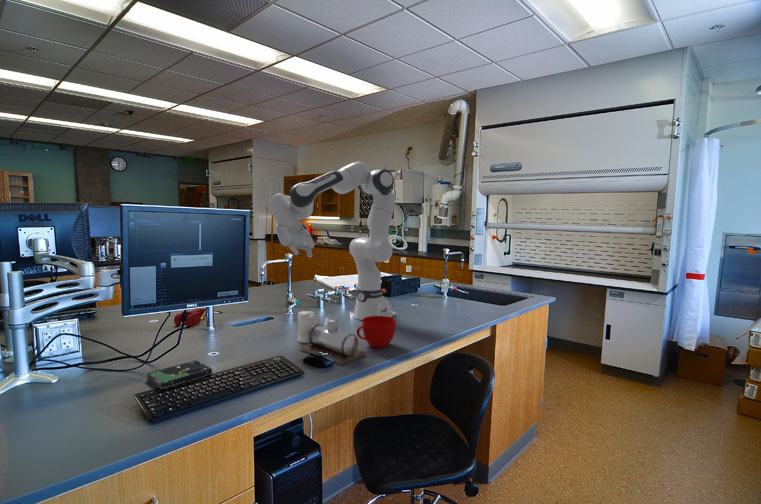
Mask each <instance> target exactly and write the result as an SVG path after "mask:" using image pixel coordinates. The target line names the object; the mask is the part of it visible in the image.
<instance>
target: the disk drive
mask: <svg viewBox="0 0 761 504" xmlns="http://www.w3.org/2000/svg"><path fill="white" fill-rule="evenodd" d="M209 374H213V368H211V367H210V366H208V365H206V364H204V363H201V362H200V361H198V360H197V359H196V360H192V361H188V362H184V363H180V364H177V365H173V366H169V367H166V368H162V369H158V370H154V371H150V372H148V373H147V376H146V377H147V378H146V379H147V381H148V382H149V383H150V384H152V385H153V386H155V388H157V389H158V388H160V387H164V386H169V385H172V384H176V383H179V382H183V381H188V380H192V379H195V378H198V377H202V376H205V375H209Z"/></svg>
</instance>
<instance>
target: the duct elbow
mask: <svg viewBox="0 0 761 504" xmlns="http://www.w3.org/2000/svg"><path fill="white" fill-rule="evenodd" d="M297 313H298V314H297V322H298V323H297V342H299V343H303V344H305V343H306V344H309V343H310V342H309V340H308V332H309V330H310V328H311V327H312V326H314V325H316V324H319V325H321V317H320V316H319V315H315V312H314V311H312V310H311V311H310V310H303V311H299V312H297Z"/></svg>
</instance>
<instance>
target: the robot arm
mask: <svg viewBox="0 0 761 504" xmlns="http://www.w3.org/2000/svg"><path fill="white" fill-rule="evenodd" d="M394 182H395V181H394V175H393V173H392V172H391V171H390V170H389V169H386V168H379V169H374V170H369V169H368V167H367V165H366V164H365V163H364V162H362V161H353V162H352V163H349V164H347V165H344V166H342V167H341V168H339V169H338V170H333V171H329V172H327V173H325V174H322V175H319V176H318V177H315V178H313V179H311V180H309V181H304V182H298V183H296V184H295V185H293V186H292V187H291V188H290V191H289V195H286V194H284V193H282V192H281V193H276V194H274V196H273V197H271V198H270V199H269V202H268V203H269V204H268V206H269V210H270V212H271V215H272V217H273V219H274V220H275V221H276V223H277V224H276V226H275V228H276V234H277V238H278V241H279V243H280V244H281V245H282V246H284V247H288V248H289V249H290V251H291V252H292V253H293V255H294V256H298V255H300V254H301V252H300V251H299V250H304V251H305V252H306V256H307V258H312V257H313V255H314V254H313V253H312V249H314V247H315V242H314V240H313V238H312V236H311V233H309V228H308V226H306V224H305V225H304V224H303V223H302V222H301V221H302V220H305V219H309V218H310V217H311V216H312V215H313V213H314V202H315V198H316V197H317V196H318V195H319V194H322V193H323V192H325V191H326V190H329V189H332V190H333V191H334V192H335V193H337V194H339V195H345V194H348V193H350V192H351V191H353V190H355V189H356V188H358V191H360V192H361V193H362V194H365V195H372V199H373V200H372V204H371V208H370V210H369V213H368V217H367V221H366V226H367V228H368V229H369V236H368V237H356V238H354V239H352V240H351V242H350V243H349V247H348V250H349V254H350V255H351V256H352V258H353V260H354V262H355V265H356V270H357V289H356V299H355V308H354V311H353V317H354V318H355V319H356V320H361V321H362V320H363V318H366V317H370V316H386V317H391V318H393V317H394V316H396V315H397V313H396V312H395V311H393V310H392V304H391V302H390V301H389V300H388V299H386V297H385V296H383V295H384V294H385V293H386V292H387V290H386V288H382V289H381V287H382V285H381V284H382V281H381V279H382V274H381V271H380V270H379V269H378V267H377V264H376V263H382V262H383V263H384V262H387V261H389V260H391V257H392V256H393V252H394V251H393V245H392V244H391V242H390V240H389V231H390V230H389V228H390V224H391V222H392V217H393V213H394V210H395V205H396V195H395V194H394V193H393V192H392V191H393V190H394Z"/></svg>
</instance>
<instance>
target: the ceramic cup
mask: <svg viewBox="0 0 761 504" xmlns="http://www.w3.org/2000/svg"><path fill="white" fill-rule="evenodd" d="M361 321H362V325H360V326H358V327H357V329H356V336H357V338H359V339H361V340H364V341H366V342H367V344H368V345H369V347H372V348H374V349H375V348H376V349H383V348H386V347H387V346H388V345H389V344H390V343H391V342H392V341H393V338H394V336H395V333H396V327H397V320H396V319H395V318H393V317H386V316H370V317H366V318H363V320H361ZM361 330H362V333H363V336H361V334H360V331H361Z"/></svg>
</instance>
